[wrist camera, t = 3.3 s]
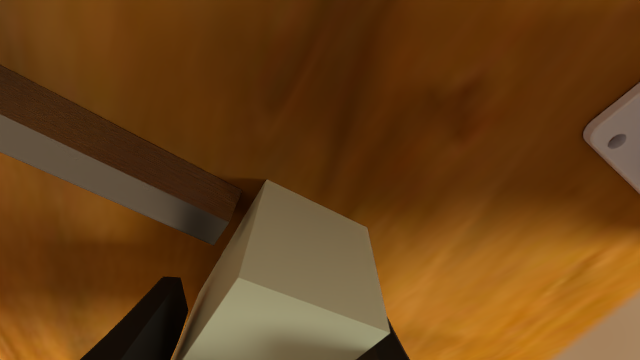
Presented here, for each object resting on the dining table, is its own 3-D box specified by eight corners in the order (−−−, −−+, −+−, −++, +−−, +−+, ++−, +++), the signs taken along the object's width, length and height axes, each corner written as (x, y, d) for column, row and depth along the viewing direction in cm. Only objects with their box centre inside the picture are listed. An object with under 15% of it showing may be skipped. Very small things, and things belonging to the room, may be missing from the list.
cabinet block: (366, 225, 12) (390, 332, 8) (282, 318, 15) (271, 425, 11) (267, 176, 10) (238, 277, 7) (200, 290, 14) (155, 399, 10)
